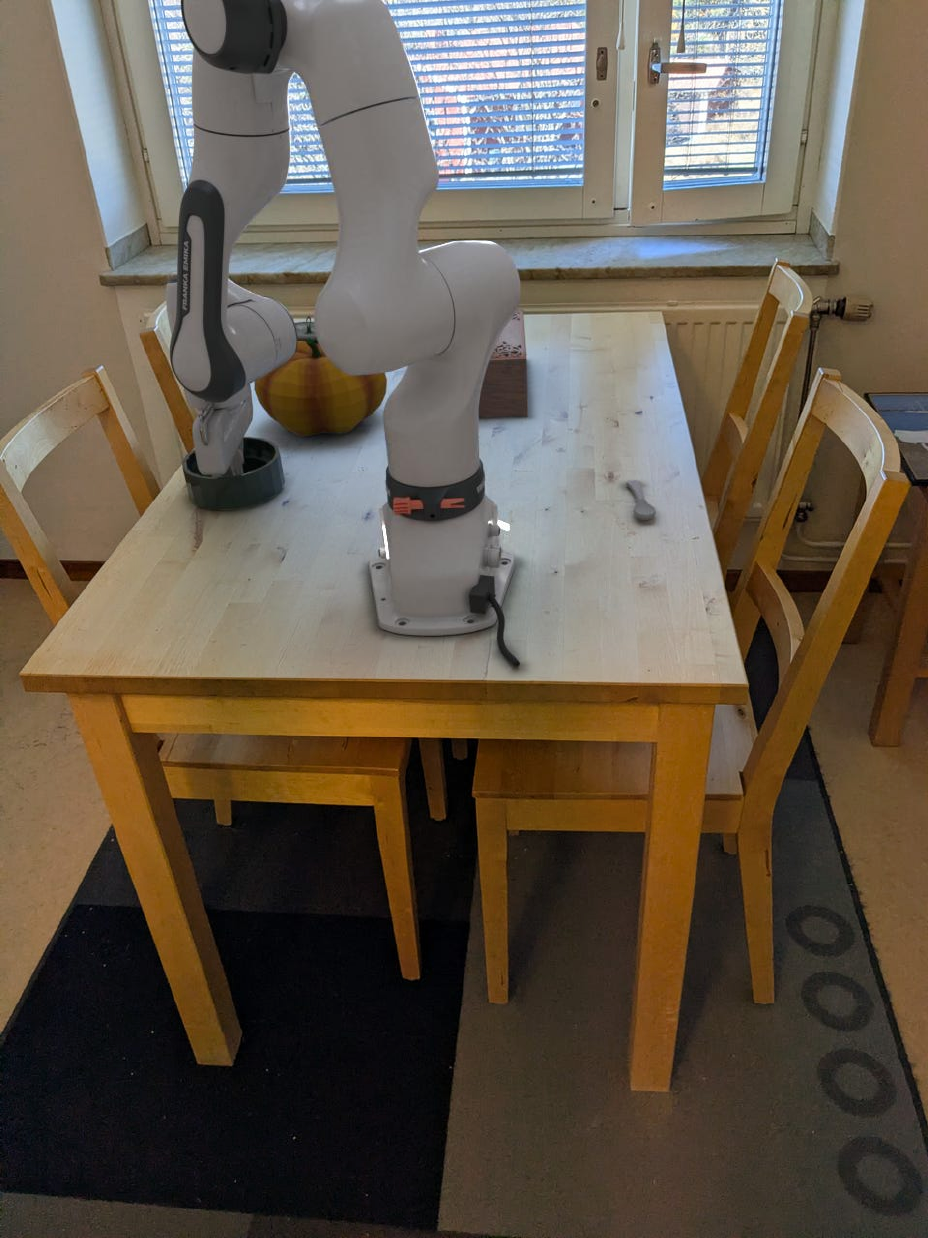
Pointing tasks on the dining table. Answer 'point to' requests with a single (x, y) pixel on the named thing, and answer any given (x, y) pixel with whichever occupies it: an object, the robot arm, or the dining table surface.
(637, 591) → the dining table surface
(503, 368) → the tissue box cover
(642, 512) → the spoon
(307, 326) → the lid
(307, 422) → the decorative pumpkin
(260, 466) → the bowl
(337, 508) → the dining table surface
